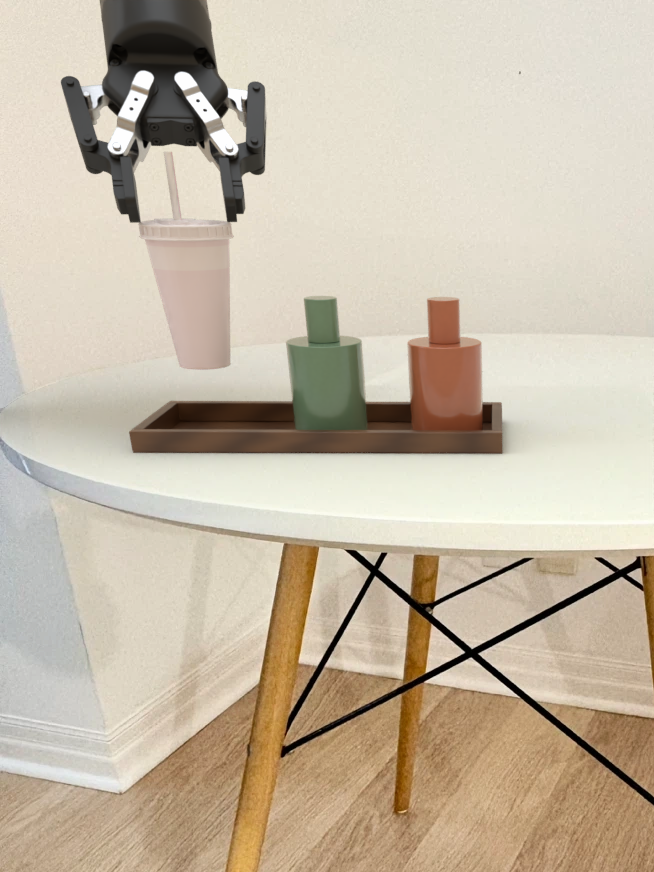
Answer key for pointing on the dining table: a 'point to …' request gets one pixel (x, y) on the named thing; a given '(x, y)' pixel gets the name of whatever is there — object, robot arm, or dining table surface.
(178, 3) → the robot arm
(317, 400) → the ceramic bottles
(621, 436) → the dining table surface
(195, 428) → the tray
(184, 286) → the smoothie
